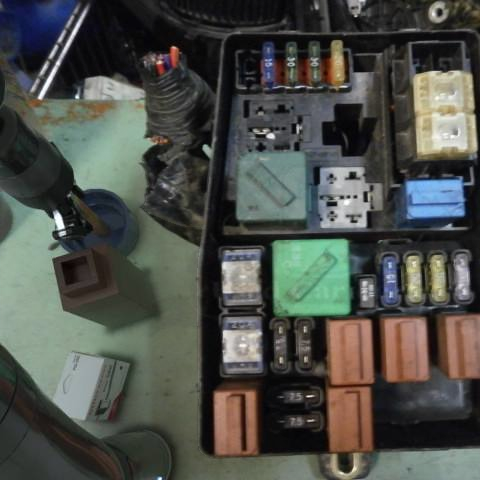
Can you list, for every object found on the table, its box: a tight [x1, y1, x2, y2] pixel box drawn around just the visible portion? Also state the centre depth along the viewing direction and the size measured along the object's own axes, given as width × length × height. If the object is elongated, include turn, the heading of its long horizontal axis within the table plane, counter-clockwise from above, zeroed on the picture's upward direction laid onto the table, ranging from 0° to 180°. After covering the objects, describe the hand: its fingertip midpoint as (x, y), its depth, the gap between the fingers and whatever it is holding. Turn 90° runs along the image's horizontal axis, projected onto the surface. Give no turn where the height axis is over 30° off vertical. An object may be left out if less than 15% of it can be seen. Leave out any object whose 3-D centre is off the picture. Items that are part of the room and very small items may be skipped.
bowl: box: [54, 188, 140, 258], centre depth 85 cm, size 11×11×6 cm
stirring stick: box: [71, 194, 111, 238], centre depth 81 cm, size 2×2×14 cm
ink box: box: [52, 349, 131, 422], centre depth 76 cm, size 9×5×12 cm, turn 168°
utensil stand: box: [51, 242, 156, 329], centre depth 75 cm, size 7×7×21 cm
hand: (82, 213), depth 79 cm, fingers open, 4 cm apart
